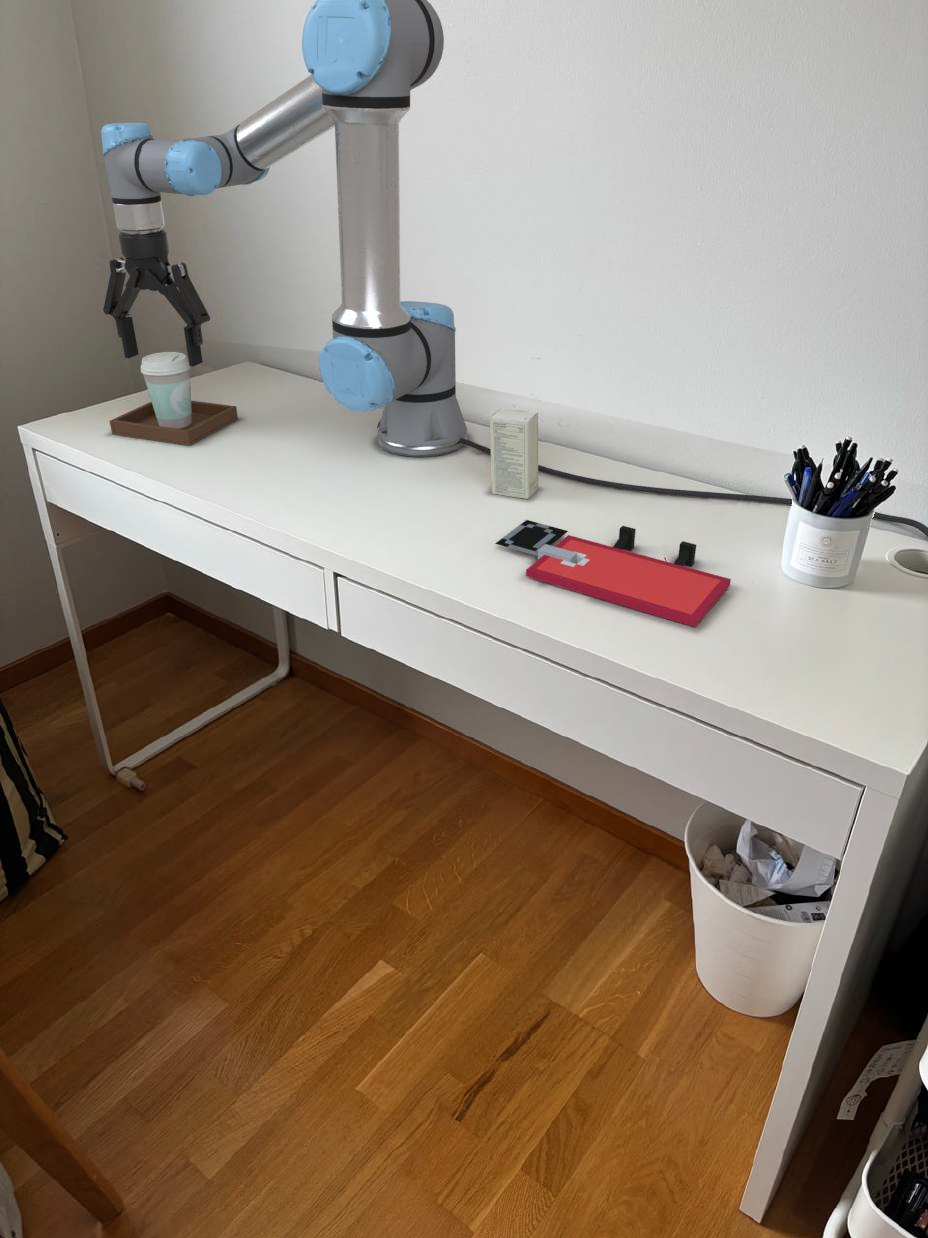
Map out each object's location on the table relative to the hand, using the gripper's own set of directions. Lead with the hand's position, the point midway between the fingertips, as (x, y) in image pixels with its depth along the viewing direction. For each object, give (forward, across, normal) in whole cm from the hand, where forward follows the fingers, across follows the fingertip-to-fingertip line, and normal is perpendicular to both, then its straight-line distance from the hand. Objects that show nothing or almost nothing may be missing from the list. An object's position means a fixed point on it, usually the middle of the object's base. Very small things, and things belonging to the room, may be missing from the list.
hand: (163, 360), depth 166 cm
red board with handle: (+11, -87, +26) cm, 92 cm away
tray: (+12, 0, 0) cm, 12 cm away
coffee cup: (+12, 0, 0) cm, 12 cm away
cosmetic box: (+11, -67, +6) cm, 69 cm away
